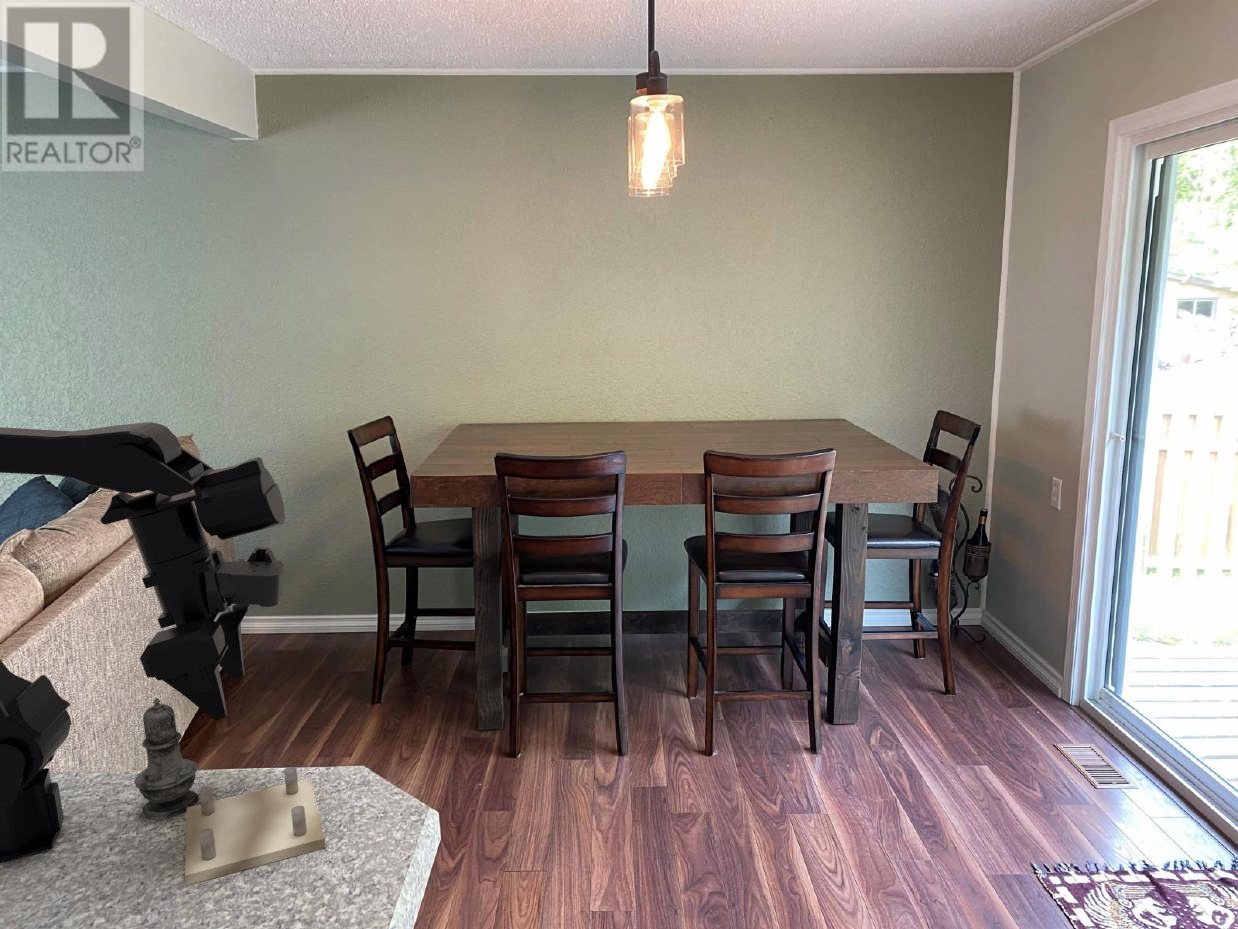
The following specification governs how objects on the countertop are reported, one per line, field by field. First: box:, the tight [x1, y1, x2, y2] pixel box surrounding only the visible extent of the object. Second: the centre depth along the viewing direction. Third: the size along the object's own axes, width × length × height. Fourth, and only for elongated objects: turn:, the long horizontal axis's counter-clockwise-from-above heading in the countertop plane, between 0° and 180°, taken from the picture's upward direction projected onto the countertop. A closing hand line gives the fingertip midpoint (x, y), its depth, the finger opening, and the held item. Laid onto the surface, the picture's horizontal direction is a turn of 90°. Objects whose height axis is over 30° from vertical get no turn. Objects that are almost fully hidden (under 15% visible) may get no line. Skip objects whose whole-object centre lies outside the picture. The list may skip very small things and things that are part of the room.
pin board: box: [184, 766, 326, 886], centre depth 86 cm, size 12×12×4 cm
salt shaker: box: [134, 697, 199, 821], centre depth 91 cm, size 6×6×12 cm
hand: (230, 697), depth 87 cm, fingers open, 9 cm apart
